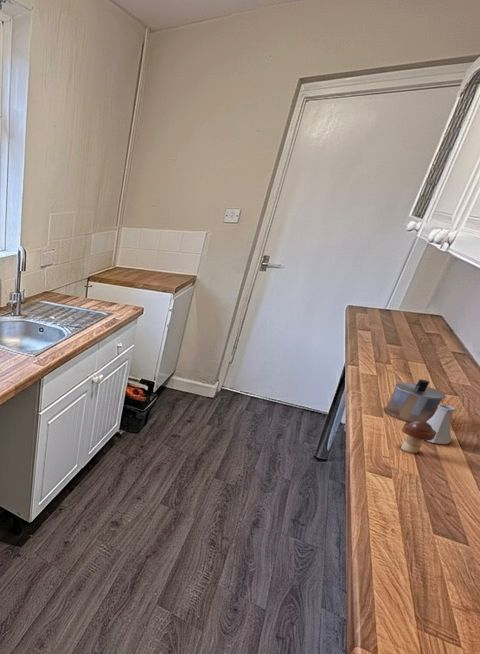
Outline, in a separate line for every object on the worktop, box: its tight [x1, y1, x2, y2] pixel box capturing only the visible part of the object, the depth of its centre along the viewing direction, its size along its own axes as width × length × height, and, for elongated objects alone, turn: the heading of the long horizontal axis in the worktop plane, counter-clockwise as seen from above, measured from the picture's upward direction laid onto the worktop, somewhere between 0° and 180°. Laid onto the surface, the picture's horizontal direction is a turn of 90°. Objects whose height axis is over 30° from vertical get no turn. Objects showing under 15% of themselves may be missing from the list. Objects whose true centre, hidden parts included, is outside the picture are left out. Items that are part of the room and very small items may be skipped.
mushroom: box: [400, 421, 436, 454], centre depth 109 cm, size 6×6×9 cm
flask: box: [426, 403, 457, 445], centre depth 115 cm, size 7×7×10 cm
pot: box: [384, 386, 443, 423], centre depth 127 cm, size 10×10×8 cm
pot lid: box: [394, 379, 446, 400], centre depth 125 cm, size 11×11×4 cm
